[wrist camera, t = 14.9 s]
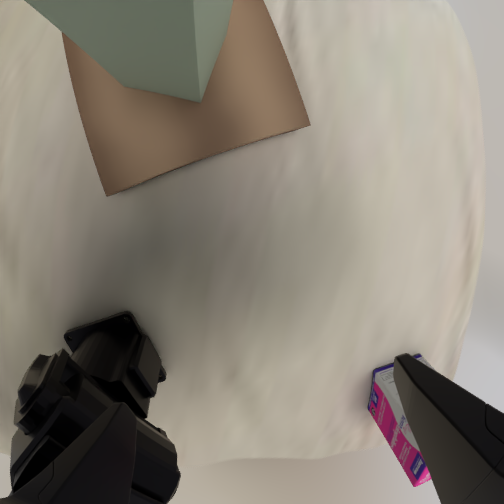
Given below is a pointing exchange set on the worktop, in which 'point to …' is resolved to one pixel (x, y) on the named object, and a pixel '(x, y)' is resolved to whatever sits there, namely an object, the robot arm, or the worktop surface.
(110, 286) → the worktop surface
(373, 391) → the supplement box
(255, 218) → the worktop surface
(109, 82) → the walnut base
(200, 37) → the sage block
